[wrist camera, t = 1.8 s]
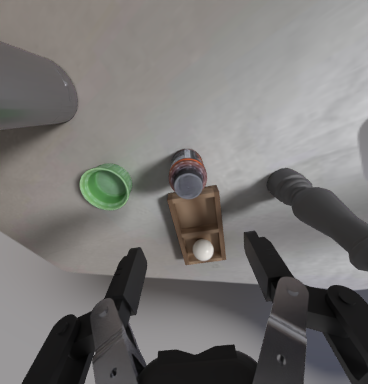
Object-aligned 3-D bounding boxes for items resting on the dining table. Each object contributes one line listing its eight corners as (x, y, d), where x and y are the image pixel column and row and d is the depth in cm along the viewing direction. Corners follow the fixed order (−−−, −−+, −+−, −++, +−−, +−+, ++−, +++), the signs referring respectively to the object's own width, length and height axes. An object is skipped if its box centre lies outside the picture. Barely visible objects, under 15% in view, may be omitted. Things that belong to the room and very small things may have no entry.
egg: (193, 250, 41) (195, 267, 37) (190, 236, 39) (191, 252, 35) (212, 247, 41) (216, 264, 37) (210, 233, 39) (214, 249, 34)
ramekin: (84, 183, 34) (71, 192, 30) (104, 151, 30) (93, 157, 27) (120, 206, 36) (113, 218, 32) (143, 179, 33) (137, 188, 29)
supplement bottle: (206, 168, 32) (217, 196, 22) (180, 181, 33) (179, 212, 23) (193, 141, 30) (199, 158, 20) (166, 156, 31) (158, 179, 21)
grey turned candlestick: (263, 193, 35) (402, 342, 13) (272, 167, 32) (473, 298, 10) (290, 195, 35) (474, 344, 13) (302, 169, 32) (564, 301, 10)
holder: (185, 255, 44) (185, 265, 41) (168, 193, 35) (167, 200, 32) (223, 250, 43) (226, 259, 40) (216, 185, 34) (219, 191, 31)
